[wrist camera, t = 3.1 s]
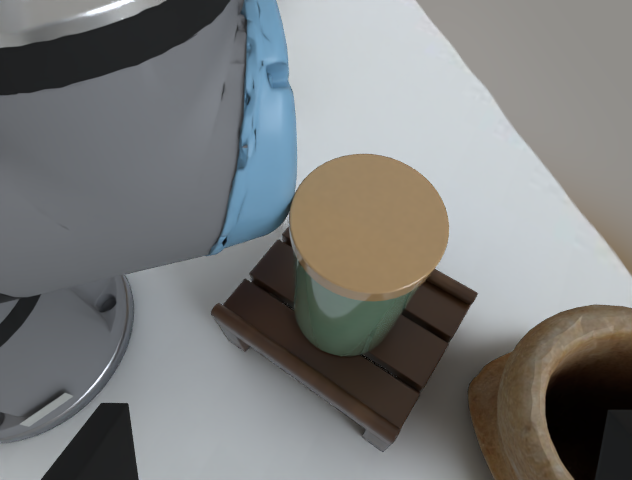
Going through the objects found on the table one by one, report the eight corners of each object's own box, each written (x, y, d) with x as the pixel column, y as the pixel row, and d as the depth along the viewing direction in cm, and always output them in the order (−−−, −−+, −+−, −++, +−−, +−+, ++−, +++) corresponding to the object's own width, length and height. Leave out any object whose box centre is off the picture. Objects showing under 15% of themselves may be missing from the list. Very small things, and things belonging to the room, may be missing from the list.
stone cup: (416, 385, 32) (476, 304, 19) (572, 336, 33) (729, 227, 20) (528, 668, 24) (754, 860, 11) (722, 589, 26) (1123, 679, 13)
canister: (269, 317, 29) (255, 233, 19) (330, 239, 31) (346, 129, 21) (361, 382, 27) (398, 327, 17) (417, 294, 30) (476, 202, 20)
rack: (227, 340, 34) (208, 311, 28) (311, 236, 38) (308, 194, 33) (382, 453, 30) (393, 443, 25) (457, 323, 34) (479, 291, 29)
